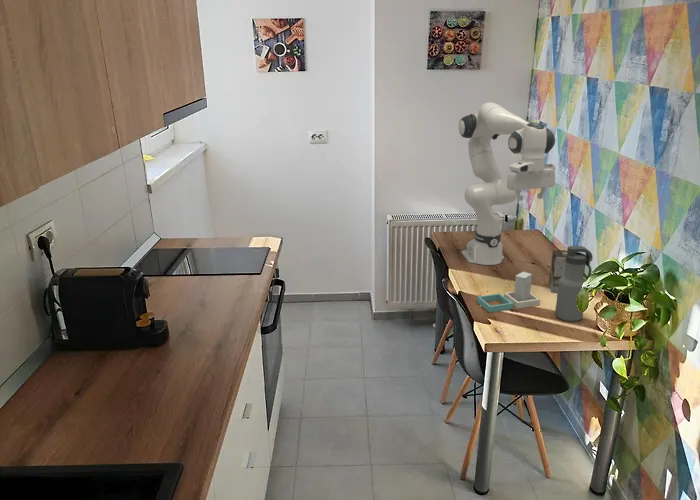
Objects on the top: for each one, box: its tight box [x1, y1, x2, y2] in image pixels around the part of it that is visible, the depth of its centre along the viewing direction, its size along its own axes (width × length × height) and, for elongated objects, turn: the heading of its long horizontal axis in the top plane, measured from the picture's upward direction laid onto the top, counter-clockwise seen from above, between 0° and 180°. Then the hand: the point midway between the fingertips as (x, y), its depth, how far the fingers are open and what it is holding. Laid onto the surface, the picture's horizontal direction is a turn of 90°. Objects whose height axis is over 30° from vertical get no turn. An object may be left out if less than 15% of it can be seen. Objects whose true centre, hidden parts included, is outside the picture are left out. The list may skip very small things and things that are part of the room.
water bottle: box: [554, 245, 593, 322], centre depth 202 cm, size 10×10×28 cm
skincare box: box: [514, 271, 533, 302], centre depth 217 cm, size 6×4×12 cm
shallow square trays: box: [476, 291, 541, 313], centre depth 218 cm, size 10×22×2 cm, turn 105°
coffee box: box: [548, 249, 568, 293], centre depth 228 cm, size 9×6×16 cm
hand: (529, 199), depth 218 cm, fingers open, 8 cm apart
